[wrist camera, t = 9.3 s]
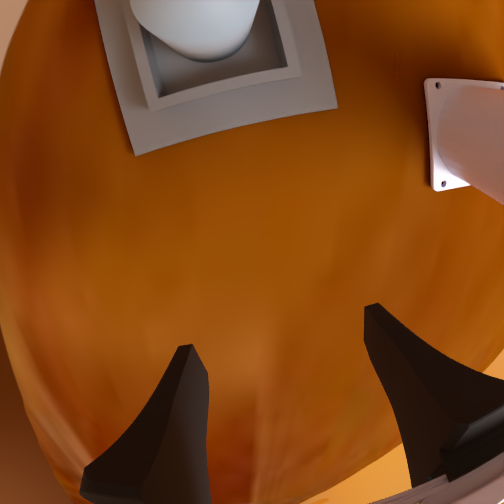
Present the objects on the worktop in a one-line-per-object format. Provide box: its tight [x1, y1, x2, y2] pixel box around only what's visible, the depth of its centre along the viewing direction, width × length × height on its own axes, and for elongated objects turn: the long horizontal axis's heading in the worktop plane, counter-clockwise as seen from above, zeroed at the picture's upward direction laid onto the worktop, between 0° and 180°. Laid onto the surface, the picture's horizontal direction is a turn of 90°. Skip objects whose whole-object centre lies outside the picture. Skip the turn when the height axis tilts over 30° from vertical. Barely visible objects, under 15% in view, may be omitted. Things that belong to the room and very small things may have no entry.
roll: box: [130, 0, 260, 63], centre depth 10 cm, size 4×4×7 cm
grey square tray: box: [95, 0, 338, 156], centre depth 13 cm, size 12×12×3 cm
